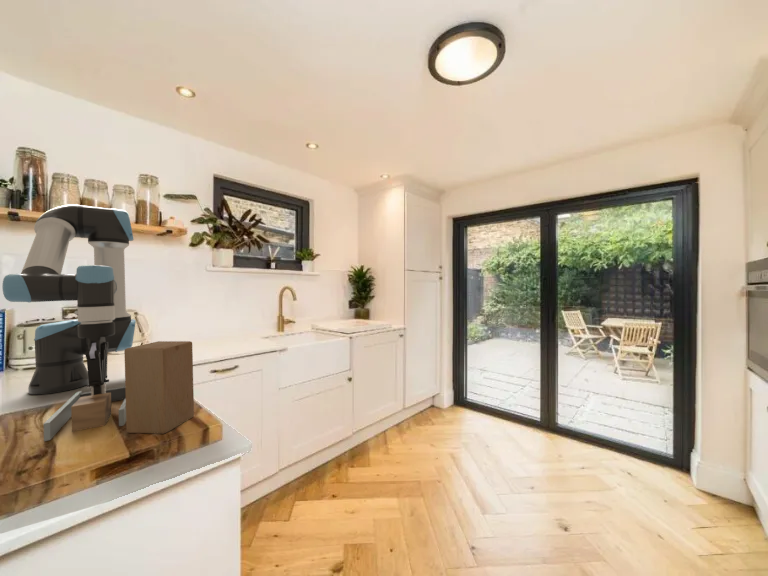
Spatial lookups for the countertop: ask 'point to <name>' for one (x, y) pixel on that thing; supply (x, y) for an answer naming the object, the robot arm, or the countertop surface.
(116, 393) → the grey u-shaped frame
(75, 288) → the robot arm
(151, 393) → the wooden block
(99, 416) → the walnut block
